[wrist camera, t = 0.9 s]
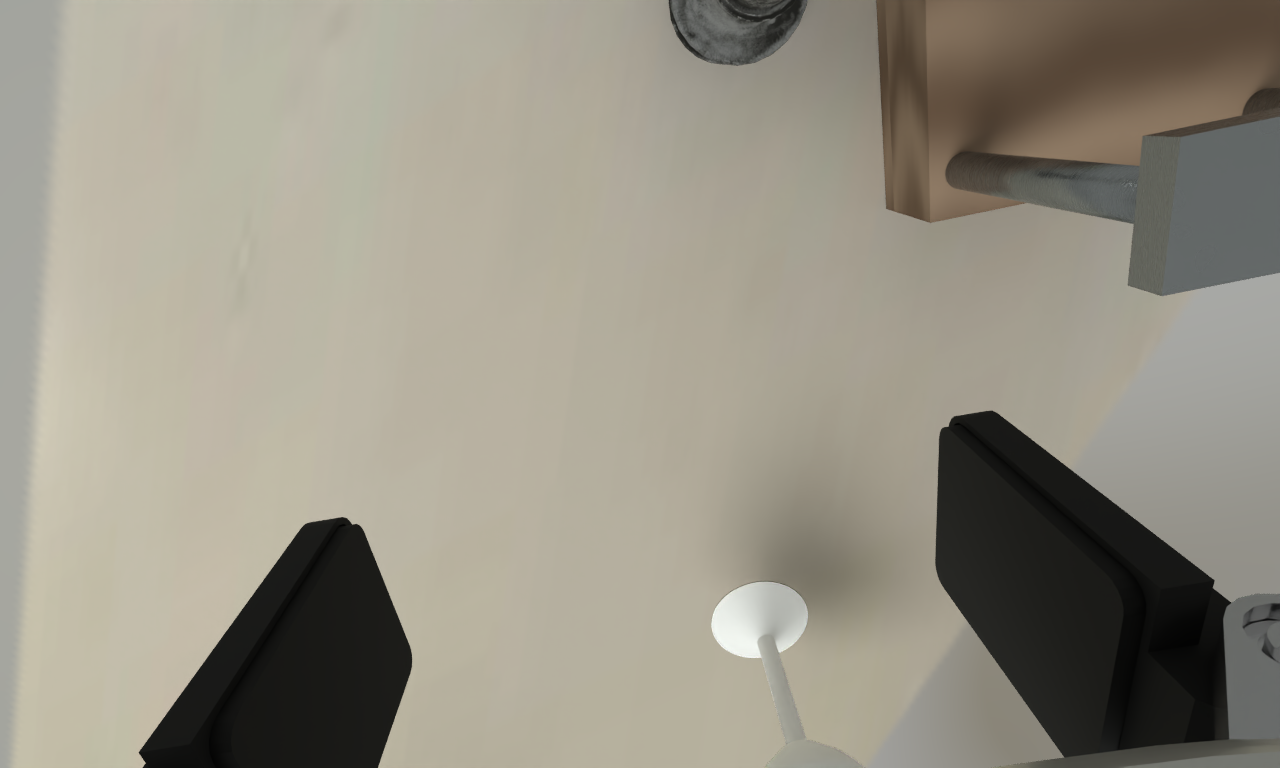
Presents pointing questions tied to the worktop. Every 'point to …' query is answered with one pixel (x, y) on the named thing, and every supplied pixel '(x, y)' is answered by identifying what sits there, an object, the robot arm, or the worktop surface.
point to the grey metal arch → (1166, 196)
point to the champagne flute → (774, 662)
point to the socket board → (1055, 82)
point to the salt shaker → (735, 27)
